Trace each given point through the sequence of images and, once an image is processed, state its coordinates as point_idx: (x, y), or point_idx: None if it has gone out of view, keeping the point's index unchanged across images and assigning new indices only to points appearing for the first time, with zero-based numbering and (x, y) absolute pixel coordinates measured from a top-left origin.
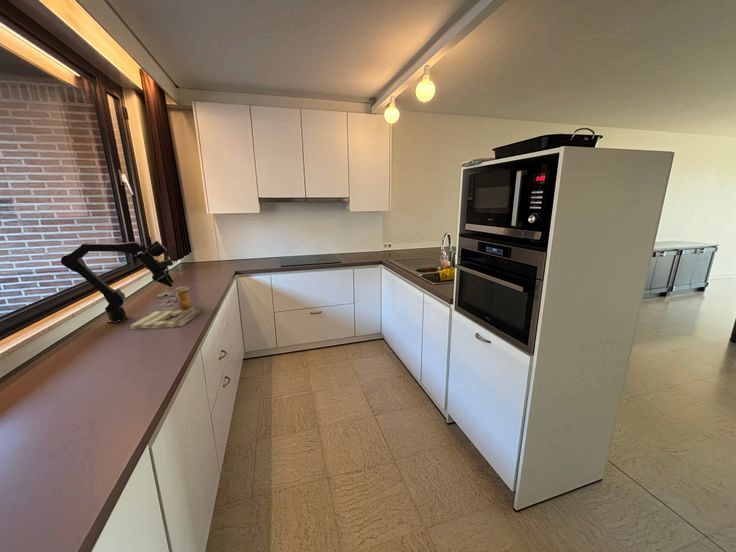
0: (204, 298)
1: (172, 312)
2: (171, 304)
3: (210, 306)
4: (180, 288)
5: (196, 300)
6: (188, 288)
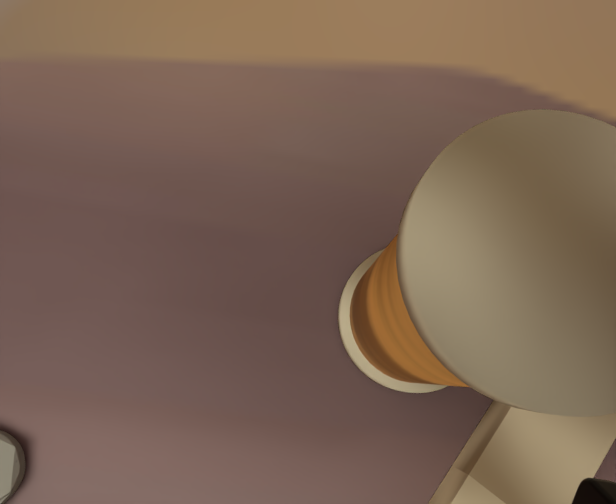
0: (60, 64)
1: (539, 492)
2: (13, 444)
3: (445, 87)
4: (568, 288)
5: (64, 151)
6: (608, 138)
